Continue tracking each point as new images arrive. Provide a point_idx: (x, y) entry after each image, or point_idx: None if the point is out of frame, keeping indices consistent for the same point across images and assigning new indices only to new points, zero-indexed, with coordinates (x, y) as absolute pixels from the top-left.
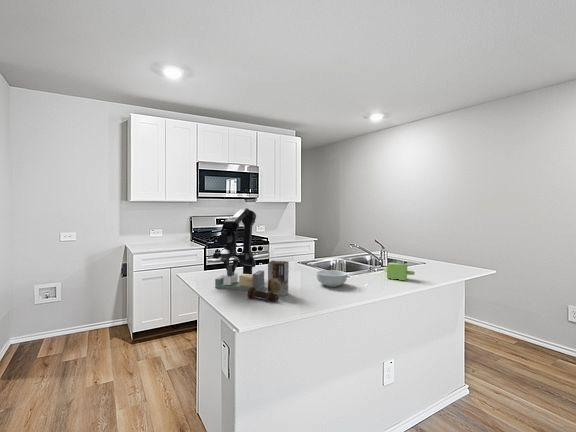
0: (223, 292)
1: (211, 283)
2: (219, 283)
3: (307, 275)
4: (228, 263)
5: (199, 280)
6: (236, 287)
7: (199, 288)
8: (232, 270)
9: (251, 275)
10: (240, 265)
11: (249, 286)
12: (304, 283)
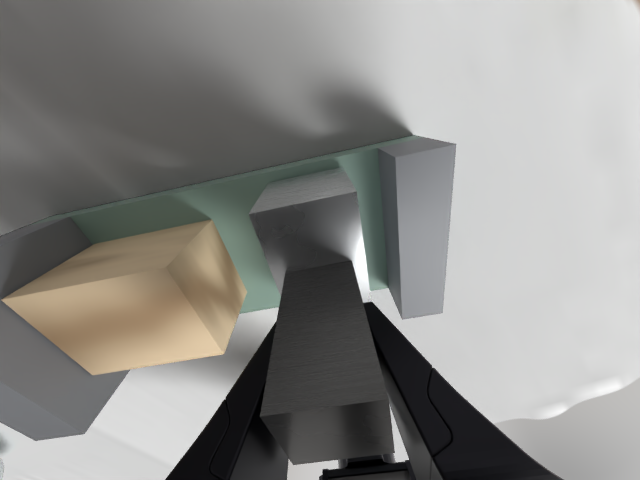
0: (233, 7)
1: (495, 221)
2: (383, 150)
3: (158, 474)
4: (410, 455)
5: (617, 243)
6: (213, 183)
7: (559, 7)
8: (279, 324)
9: (106, 342)
10: (407, 469)
11: (126, 237)
12: None
